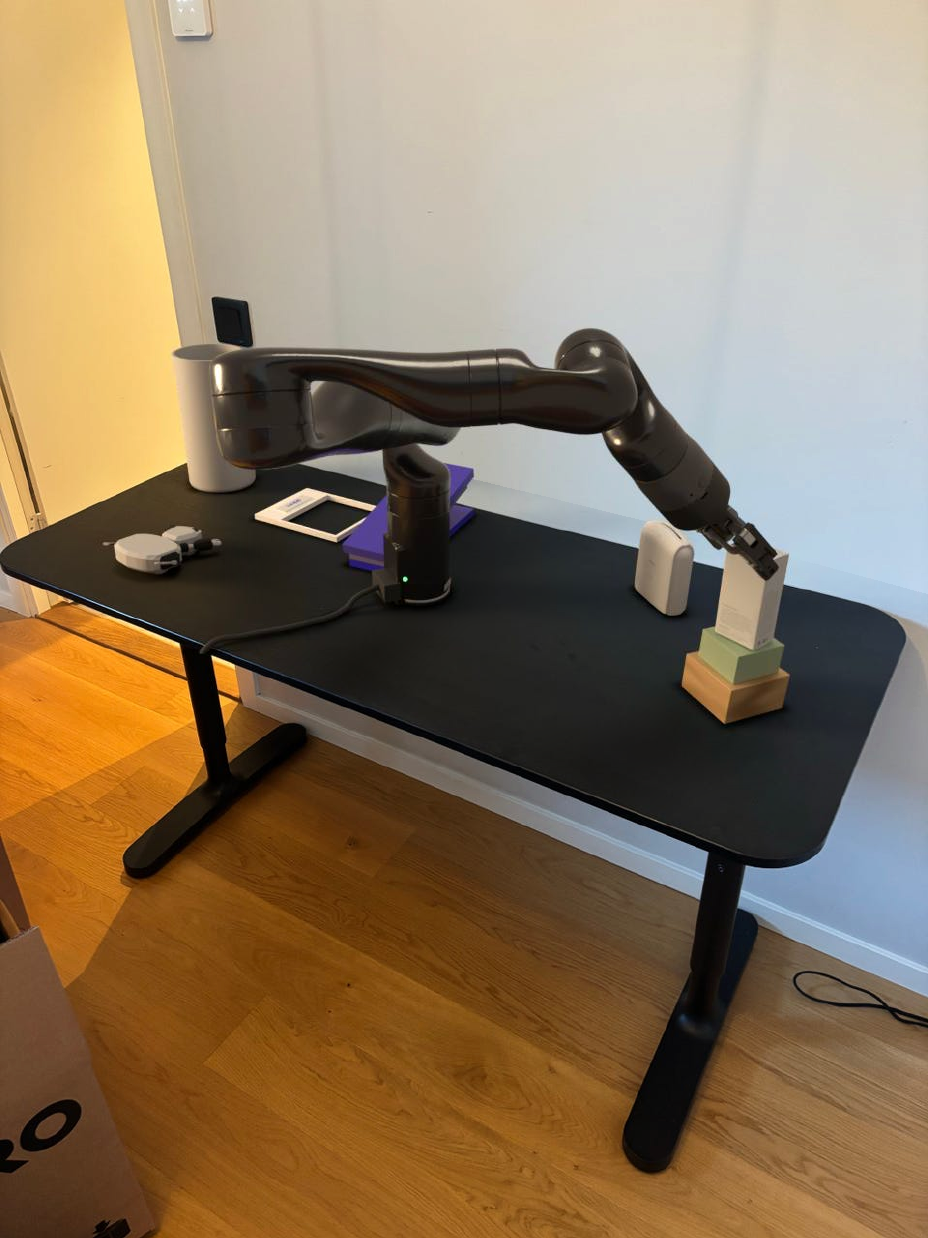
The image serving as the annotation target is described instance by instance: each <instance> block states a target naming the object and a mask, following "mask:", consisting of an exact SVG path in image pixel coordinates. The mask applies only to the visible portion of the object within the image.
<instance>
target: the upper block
mask: <svg viewBox="0 0 928 1238" xmlns="http://www.w3.org/2000/svg"><path fill="white" fill-rule="evenodd" d="M701 632H702V633H701V638H700V643H699V649H698V651H699V654H698V656H699V657H700V658H701V659H703V660H704V661H705V662H706V663H708V664H709V665H710V666H711V667H712V668H714V669H715V670H716V671H717V672H718V673H720V674H721V675H722V676H723V677H725V678H726V679H727V680H728V681H729V682H731V683H732V684H736V683H740V682H744V681H748V680H752V679H755V678H759V677H763V676H767V675H771V674H774V673H778V671H779V668H781V663H782V657H783V655H784V650H785V644H783V643H782V642H780V641H779V640H778V639H777V638H775V637H774V638H773V641H772V642H770V643H769V644H767V645H765V646H763V647H761V648H759V649H757V650H754V651H753V650H751V649H749V648H747V647H745V646H743V645H741V644H739V643H737V642H735V641H733V640H731V639H729V638H727V637H725V636H723V635H721V634H719V633H717V632H715V626H711V627H707V628H703V629H702V631H701Z"/></svg>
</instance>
